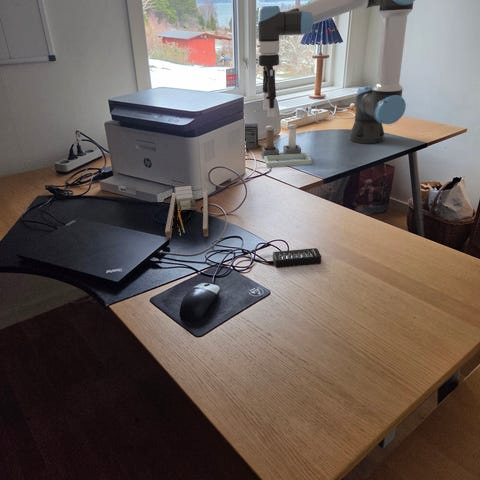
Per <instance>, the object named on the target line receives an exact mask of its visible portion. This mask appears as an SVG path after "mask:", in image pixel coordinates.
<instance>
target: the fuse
mask: <svg viewBox="0 0 480 480" xmlns="http://www.w3.org/2000/svg"><path fill="white" fill-rule="evenodd" d="M297 127H298V126H297V124H295V123H290V124H288V126H287V129H288V144H287V145H288V149H296V145H297Z"/></svg>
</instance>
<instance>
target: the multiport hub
mask: <svg viewBox="0 0 480 480" xmlns="http://www.w3.org/2000/svg"><path fill="white" fill-rule="evenodd" d="M272 261H273V264H274V267H275V268H277V269H281V268H290V267H293V268H294V267H303V266H312V265H321V264H322V255H321V253H320V251H319V249H318V248H316V247H313V248H312V247H311V248H302V249H300V248H299V249H292V250H281V251H280V250H279V251H273V252H272Z"/></svg>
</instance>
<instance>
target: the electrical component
mask: <svg viewBox="0 0 480 480" xmlns="http://www.w3.org/2000/svg"><path fill="white" fill-rule="evenodd" d="M174 189H175V191H174V192H175V193H176V199H177V203H176V207H177V212H178V214H177V218H178V217H179V223H180V225H181V229H182V231H183V233H184V234H185V229H184V224H183V221H182V217H181V211H182V210H192V211H197V209H196V208H197V207H196V206H194V205H196V200H194V194H193V186H192V185H186V186H175V188H174ZM192 194H193V195H192ZM179 210H180V211H179ZM180 225H179V226H178V225H177V228H178V227H179V229H178V232H180V233H179V236H182V234H181V230H180Z"/></svg>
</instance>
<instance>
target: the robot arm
mask: <svg viewBox="0 0 480 480" xmlns="http://www.w3.org/2000/svg"><path fill="white" fill-rule="evenodd" d="M415 1H416V0H314V1H311V2H308V3H306V4H303V5H300V6H298V7H296V8H293V9H289V10H286V11H281V10H280V7H279V6H278V5H268V6H266V5H264V6H260V7H259V9H258V18H257V24H258V28H257V29H258V43H257V44H256V46H257V48H258V53H259V55H258V66H260V67H262V69H263V71H262V78H263V79H262V93H263V94H262V95H263V97H262V99H263V101H262V102H263V103H262V105H263V111H266V110H267V118H275V117H276V98H277V93H276V91H277V90H276V89H277V87H276V71H275V69H274V67H277V66H279V65H280V54H279V53H280V36H295V35H296V36H297V35H299V36H300V35H301V36H302V35H303V36H304V35H309V34H310V33H311V32H312V31H313V25H315V24H317V23H321V22H324V21H326V20H329V19H332V18H335V17H337V16H340V15H343V14H346V13H348V12H349V13H350V12H351V11H354V10H358V9H360V8H361V9H362V10H366V9H368V8H371V7H379V10H378V11H379V13H380V14H381V16H382V24H381V32H380V33H381V34H380V42H379V43H380V45H379V52H378V53H379V56H378V66H377V74H376V83H375V85H367V86H366V85H365V86H360V87H358V88H357V93H356V94H355V95H356V99H355V100H356V103H355V113H354V114H355V116H354V123H353V125H352V128H351V131H350V132H349V140H350V141H351V142H352V143H353V142H354V143H359V144H377V143H382V142H384V140H385V131H384V127H383V125H391V124H395V123H397V122H398V121H399V120H400V119H401V118H402V117H403V115H405V111H406V108H407V104H406V101H405V99H404V97H403V89H404V88H403V86H402V85H400V81H401V80H400V79H401V70H402V63H403V56H404V55H403V54H404V46H405V39H406V38H405V37H406V29H407V21H408V16H409V14H410V13H411V12H412V11H413V8H414V2H415Z"/></svg>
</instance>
